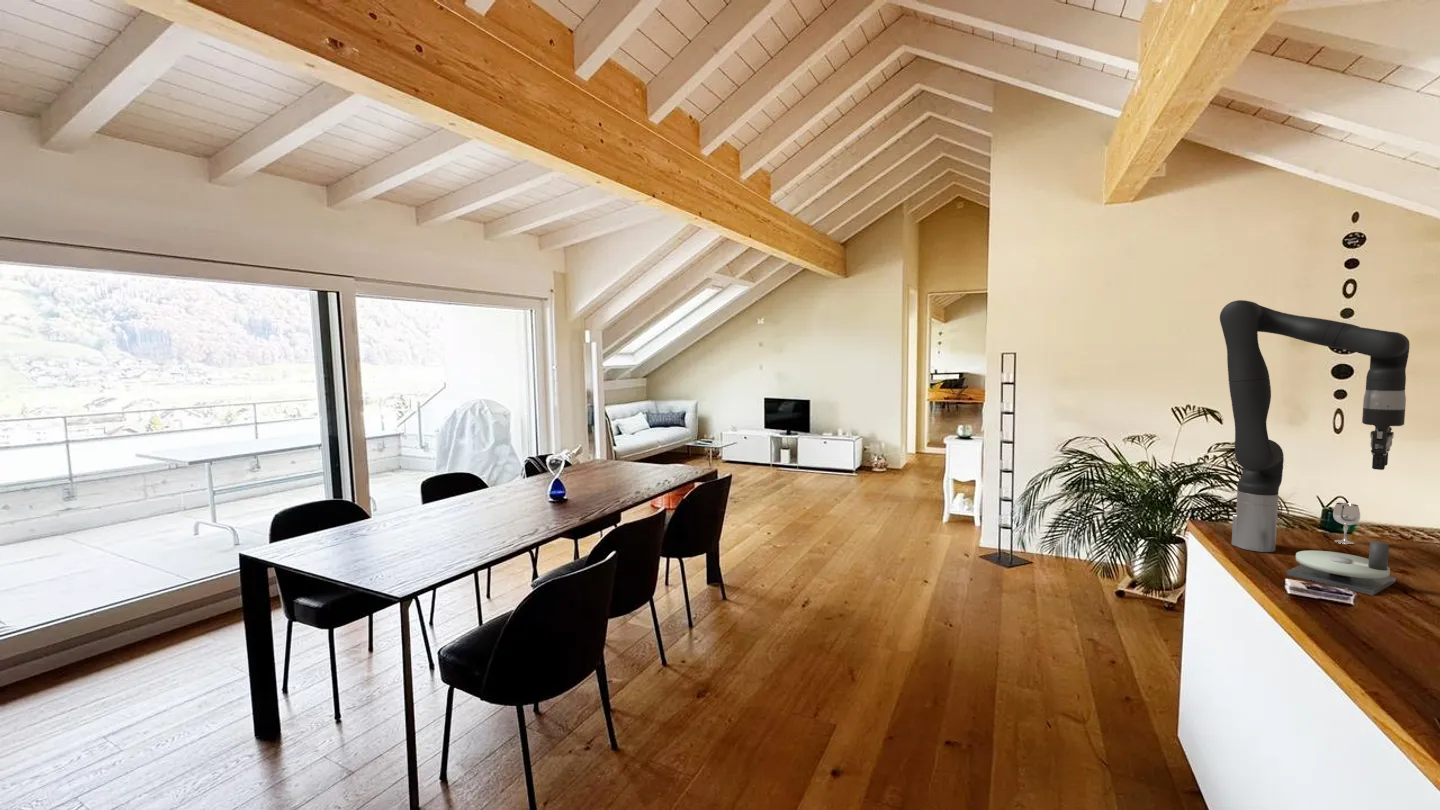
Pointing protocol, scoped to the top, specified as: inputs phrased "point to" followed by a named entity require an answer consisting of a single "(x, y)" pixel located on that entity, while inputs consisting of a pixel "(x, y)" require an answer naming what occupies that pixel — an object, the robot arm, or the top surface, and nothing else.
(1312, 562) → the handwheel
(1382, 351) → the robot arm
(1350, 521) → the wineglass
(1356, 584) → the wheel stand
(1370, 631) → the top surface
